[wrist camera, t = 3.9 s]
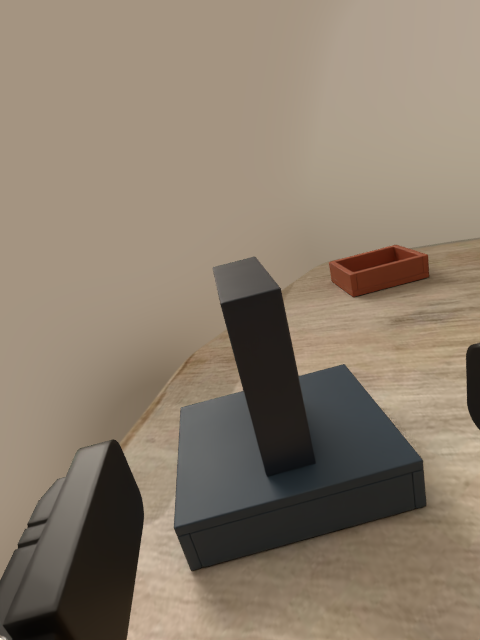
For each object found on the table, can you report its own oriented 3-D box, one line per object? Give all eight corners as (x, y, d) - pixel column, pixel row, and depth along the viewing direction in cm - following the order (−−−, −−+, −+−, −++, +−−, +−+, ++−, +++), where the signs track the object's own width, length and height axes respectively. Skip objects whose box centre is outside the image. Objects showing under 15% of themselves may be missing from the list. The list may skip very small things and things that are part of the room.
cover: (190, 571, 16) (100, 347, 12) (191, 440, 24) (137, 281, 20) (427, 506, 16) (408, 267, 13) (349, 398, 24) (324, 232, 21)
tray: (352, 297, 40) (350, 275, 39) (331, 281, 46) (328, 261, 45) (429, 277, 40) (428, 254, 39) (397, 264, 46) (396, 244, 45)
